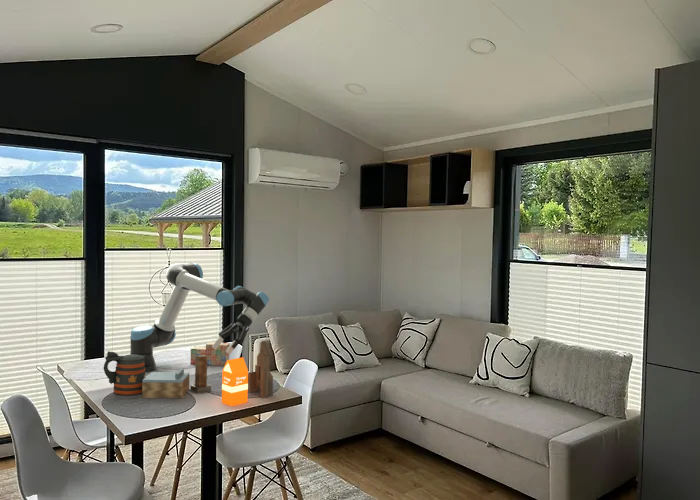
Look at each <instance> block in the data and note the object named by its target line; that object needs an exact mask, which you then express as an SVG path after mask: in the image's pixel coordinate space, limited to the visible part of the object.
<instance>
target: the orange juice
mask: <svg viewBox="0 0 700 500" xmlns="http://www.w3.org/2000/svg"><path fill="white" fill-rule="evenodd" d="M248 374H249V370H248V367H247V364H246V361H245V359H244V357H237V358H233V359H229V360H227V362H226V364H225V366H223V369H222V375H221V376H222V377H221V378H222V380H221V403H222V404H224V405H227V406H230V407H234V406H238V405H243V404H246V403H248V398H249V397H248V395H249V394H248V393H249V392H248Z"/></svg>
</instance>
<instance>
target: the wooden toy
mask: <svg viewBox="0 0 700 500" xmlns="http://www.w3.org/2000/svg"><path fill="white" fill-rule="evenodd" d="M271 356H273V353H272V352H271V350H270V347H269V345H268V343H267V341H266V340H262V341H260V352H259V353H258V354H257V356H256V364H255V366H254V371H252V372H248V393H253V392H254V393H255V392H258V391H260V398H261V399H262V398H263V399H266V398H268V397H270V396H273V394H274V391H273V390H274V375H273V374H272V373H271V370H270V360H271V359H270V357H271Z"/></svg>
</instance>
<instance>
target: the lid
mask: <svg viewBox="0 0 700 500" xmlns="http://www.w3.org/2000/svg"><path fill="white" fill-rule="evenodd" d="M184 369H185V368H183V367H182V368H181V367H180V369H178V370H177V371H176V372H174V371H170V372H169V371H162V372H161V371H160V372H159V371H150V373H149V374H148V375H146V376H145V378H144V379H143V382H150V383H182V382H183V381H184V380H185V379H186V378H187V377H188V376H189V377H190V372H189V371H187V372H185V370H184Z"/></svg>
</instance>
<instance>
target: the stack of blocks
mask: <svg viewBox="0 0 700 500" xmlns="http://www.w3.org/2000/svg"><path fill="white" fill-rule="evenodd" d="M214 343H215V341H214V342H212V341H211V342H207V343H205V346H193V347H191V348H190V365H195V362H196V356H197V355H206V356H207V366H219V367H220V366H221V367H224V366H225V364H226V362H227V360H230V355H229V354H228V353H227V352H226V350H227V349H228V347H229V346H230V345H231V343H227V342H222V343H221V344H220V345H219V346H218V348H217V349H216V350H215V349H214V348H213V347H212V345H213V344H214Z"/></svg>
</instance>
